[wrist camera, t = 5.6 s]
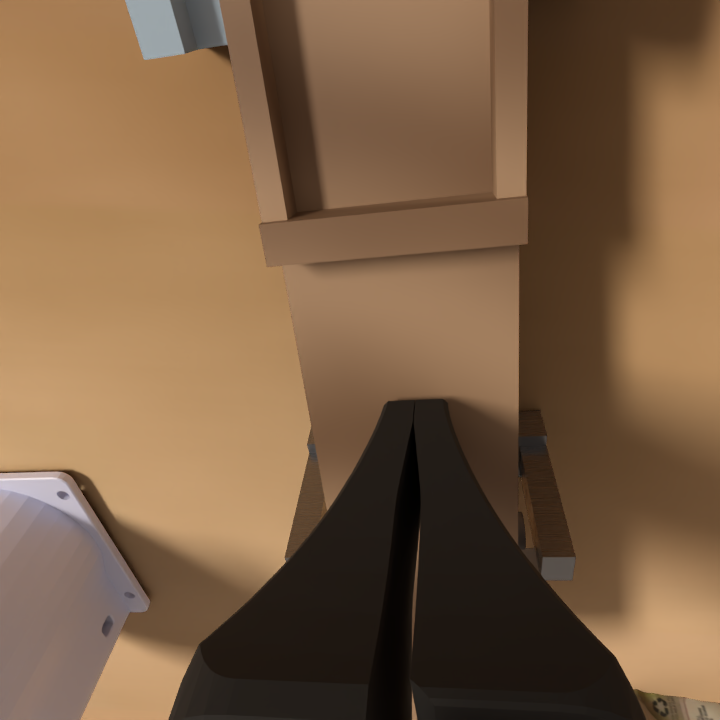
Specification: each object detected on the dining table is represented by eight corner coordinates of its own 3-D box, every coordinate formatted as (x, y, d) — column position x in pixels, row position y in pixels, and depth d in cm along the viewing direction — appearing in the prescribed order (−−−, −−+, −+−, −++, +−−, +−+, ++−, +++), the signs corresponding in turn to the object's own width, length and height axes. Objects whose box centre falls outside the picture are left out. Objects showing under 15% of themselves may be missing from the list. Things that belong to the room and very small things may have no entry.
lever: (533, 663, 20) (556, 786, 16) (351, 658, 21) (335, 773, 17) (549, -79, 11) (610, -168, 7) (225, -20, 12) (135, -75, 8)
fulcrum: (537, 450, 19) (570, 589, 14) (322, 456, 20) (295, 587, 16) (539, 410, 18) (576, 547, 13) (313, 419, 19) (281, 548, 15)
